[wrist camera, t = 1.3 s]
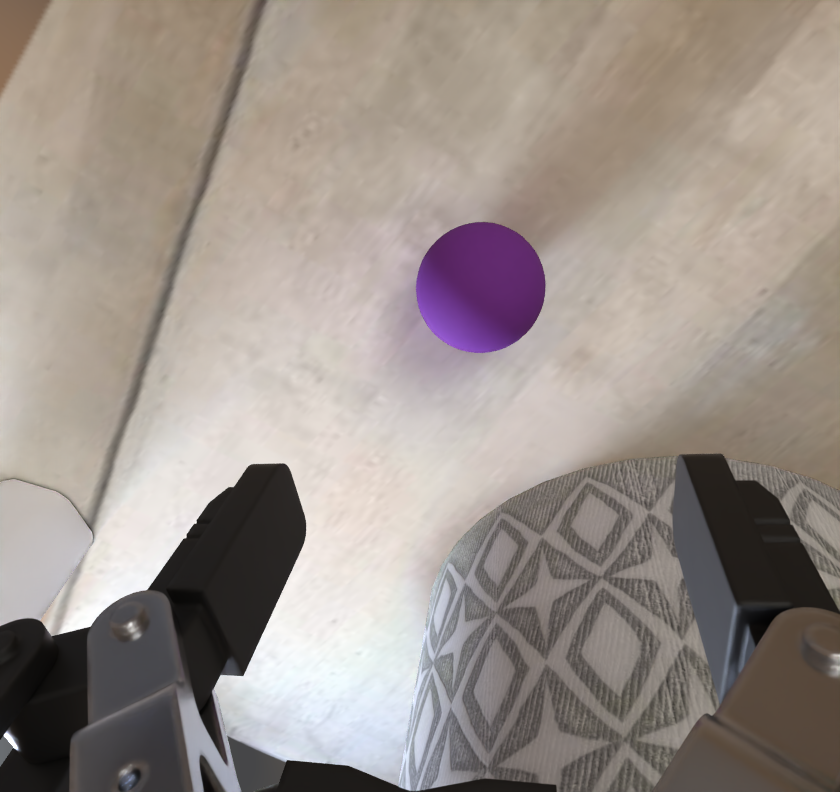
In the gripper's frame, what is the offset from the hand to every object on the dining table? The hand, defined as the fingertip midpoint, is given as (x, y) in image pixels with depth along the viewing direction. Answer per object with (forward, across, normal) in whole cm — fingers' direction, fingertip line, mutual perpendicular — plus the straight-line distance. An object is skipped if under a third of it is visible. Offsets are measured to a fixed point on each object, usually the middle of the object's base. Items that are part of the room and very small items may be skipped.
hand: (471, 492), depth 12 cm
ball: (+13, +1, 0) cm, 13 cm away
